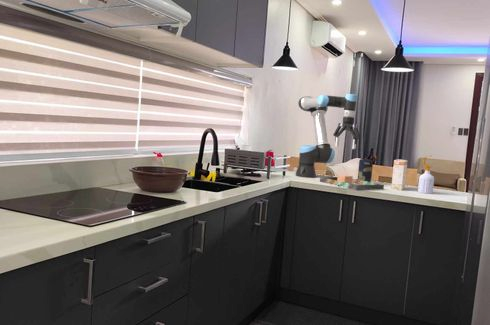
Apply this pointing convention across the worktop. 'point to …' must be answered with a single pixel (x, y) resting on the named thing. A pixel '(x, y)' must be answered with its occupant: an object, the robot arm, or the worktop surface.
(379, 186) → the trap channel
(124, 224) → the worktop surface
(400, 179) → the coffeecake box
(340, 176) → the block
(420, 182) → the soap bottle
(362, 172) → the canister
